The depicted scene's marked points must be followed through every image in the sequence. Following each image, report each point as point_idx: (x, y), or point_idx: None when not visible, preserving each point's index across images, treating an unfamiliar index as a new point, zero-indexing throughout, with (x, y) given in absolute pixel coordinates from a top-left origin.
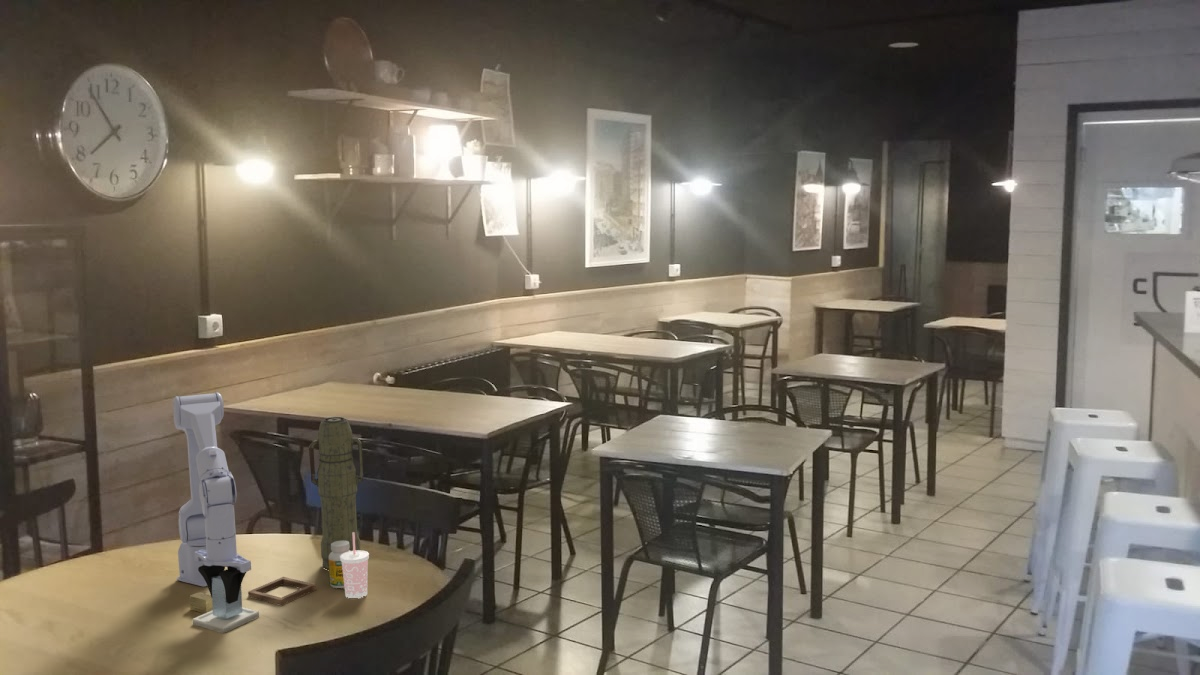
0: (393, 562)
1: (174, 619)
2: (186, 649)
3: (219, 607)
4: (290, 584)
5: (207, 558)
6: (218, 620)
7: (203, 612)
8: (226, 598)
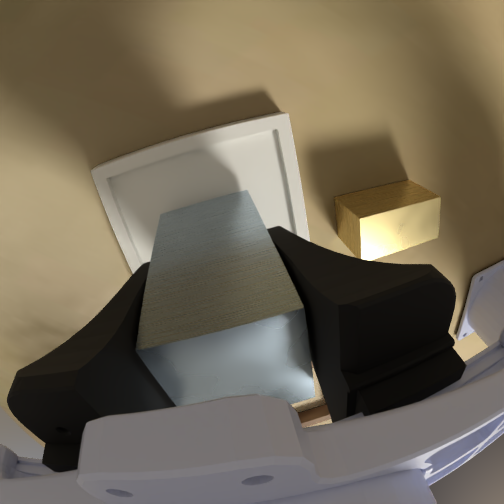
0: None
1: (381, 96)
2: (65, 10)
3: (202, 220)
4: (305, 413)
5: (343, 499)
6: (199, 190)
7: (351, 194)
8: (148, 268)
